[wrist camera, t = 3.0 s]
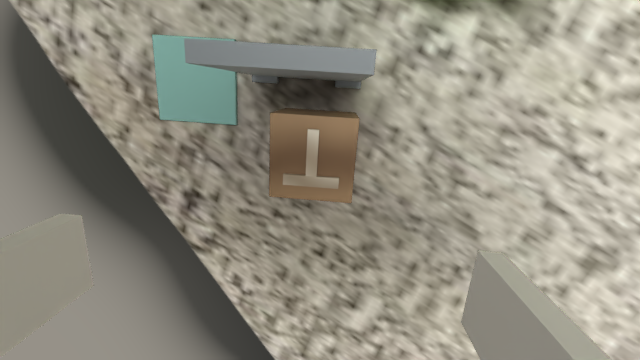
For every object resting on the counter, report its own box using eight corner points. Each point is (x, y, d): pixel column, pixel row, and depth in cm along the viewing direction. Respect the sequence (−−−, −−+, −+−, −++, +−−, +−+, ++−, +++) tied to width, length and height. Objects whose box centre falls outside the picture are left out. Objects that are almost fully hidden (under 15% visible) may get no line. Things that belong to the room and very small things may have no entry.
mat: (154, 35, 29) (151, 34, 28) (235, 40, 28) (234, 39, 28) (162, 119, 31) (159, 119, 31) (237, 124, 31) (236, 124, 30)
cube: (285, 107, 30) (269, 113, 23) (355, 112, 30) (359, 119, 23) (284, 174, 32) (268, 197, 25) (349, 179, 32) (351, 204, 25)
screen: (254, 55, 29) (179, 25, 15) (362, 62, 28) (381, 36, 15) (254, 81, 29) (182, 74, 16) (359, 88, 29) (376, 87, 16)
